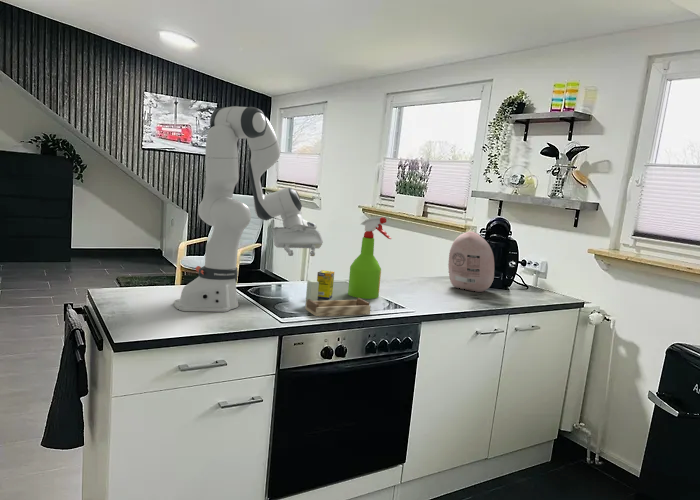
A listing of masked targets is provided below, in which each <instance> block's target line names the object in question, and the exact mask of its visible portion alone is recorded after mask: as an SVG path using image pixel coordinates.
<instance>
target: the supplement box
mask: <svg viewBox="0 0 700 500" xmlns="http://www.w3.org/2000/svg"><path fill="white" fill-rule="evenodd" d="M334 279H335V271H331V270H323V269H321V270H319V271H318V272H317V277H316V281H318V282H319V287H318V299H323V300H330V299H331V298H332V297H333V293H334V291H333V290H334V281H335V280H334Z"/></svg>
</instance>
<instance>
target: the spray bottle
mask: <svg viewBox="0 0 700 500" xmlns="http://www.w3.org/2000/svg"><path fill="white" fill-rule="evenodd" d="M386 223H387V218H386V217H383V216H382V217H370V218H367V219H365V220H363V221H362V222H361V223H360V225H362V226H364V233H363V237H362V240H361V247H360V254H359V255H358V256H356V258H355V259H354V260H353V262H352V264H351V265H350V267H349V278H348V290H347V295H348V296H350V297H352V298H356V299H357V298H361V299H363V300H365V299H366V300H372V299H373V300H375V299H378V298H379V297H380V295H379V294H380V287H381V286H380V285H381V275H382V268H381V266H380V264H379V262H378V260H377V259H376V257H375V255H374V254H375V253H374V251H375V236H374V235H375V234H374V231H375V230H377V231H378V232H379V233H381V235H383V236H384V237H385V238H386V239H387V240H392V239H393V238H392V237H390V235H389V234H387V232H386V230H385V231H384V229H383V225H382V224H386Z"/></svg>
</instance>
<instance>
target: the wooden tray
mask: <svg viewBox="0 0 700 500" xmlns="http://www.w3.org/2000/svg"><path fill="white" fill-rule="evenodd" d="M305 304H306V306H305V310H306V311H307V312H308V313H310V314H312V315H314V316H315V317H316V316H319V317H334V316H335V317H337V316H341V317H342V316H357V315H358V316H360V315H363V316H364V315H370V314H371V305H370V302H369V301H367V300H365V299H363V298H356V299H339V300H338V299H335V300H332V299H331V300H330V299H328V300H317V301H312V300H311V299H307V301H306V300H305Z"/></svg>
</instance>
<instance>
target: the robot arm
mask: <svg viewBox="0 0 700 500" xmlns="http://www.w3.org/2000/svg"><path fill="white" fill-rule="evenodd" d="M209 126H210V128H209V129H208V130H207V134H206V141H205V187H204V192H203V197H202V200H201V202H200V203H199V204H198V208H197V211H198V212H197V213H198V216H199V218H200V219H201V220H202V221H203V222H204V223H205V224H206V225H208V226H211V227H213V230H212V234H211V237H210V239H209V240H208V242H207V243H206V244H205V258H204V266H200V265H197V266H196V267H195V271H196V272H197V273H198V277H196V278H194V280H192V281H190V282H189V283H187V284H186V285H184V286H183V288H182V289H181V294H180V298H177V299H175V300H174V301H173V307H174V308H175V309H176V310H178V309H179V311H182V312H219V313H221V312H223V313H224V312H225V313H226V312H229V311H231V310H233V309H236V308H238V307H239V302H238V294H237V293H238V292H237V282H238V272H239V271H238V267H237V264H238V253H239V251H238V250H239V245H240V241H241V238H242V235H243V233H244V230H245V229H246V228H247V227H248V226H249V224H250V223H251V219H252V213H251V209H250V207H248V205H246V204H245V203H244V202H242V201H241V200H238V199H234V198H233V195H234V190H235V187H236V185H237V184H238V182H239V179H240V177H239V176H240V174H239V149H238V141H239V139H246V141H247V143H248V147H249V149H250V155H251V156H250V159H249V161H248V162H247V171H248V177H249V181H250V186H251V193H252V196H253V207H254V211H255V214H256V216H257V218H259V219H261V220H263V221H269V220H271V219H274V218H276V217H279V216H280V219H282V226H283V227H282V226H281V227H279V226H275V227H273V228H272V229H271V233H272V234H271V235H272V236H273V244H274V246H275V247H276V248H279V249H280V248H281V249H284V251H285V252H286V253H288V254H287V255H288V256H289V257H291V256H293V255H294V251H293V249H310V252H309V255H310V257H315V256H316V252H315V251H316V249H321V247H322V245H323V243H324V242H323V238H322V235H321V233H320V231H319V230H318V229H317V228H318V227H317V224H316V223H314V222H310V221H308V220H306V219H304V217H303V215H302V207H303V206H302V202H301V198H300V195H299V193H298V191H297V190H295V189H294V188H293V187H286V188H282V189H279V190H276V191H274V192H271V193H268V194H264V192H263V189H262V183H261V177H262V176H263V174H264V173H265V172H267V170H269V169H270V168H272V167H273V166H274V165H275V164H276V163H277V161H278V160H279V159H280V155H281V152H282V151H281V145H280V143H279V139H278V137H277V134H276V132H275V130H274V128H273V125H272V124H271V122H270V120H269V118H268V117H267V116H266V115H265V114H264V112H263V110H261V109H259V108H257V107H254V106H248V107H247V106H237V105H235V106H234V105H233V106H229V107H228V106H227V107H225V106H224V107H219V108H217V109H214V110H213V112H212V113H211V115H210V119H209Z"/></svg>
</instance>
